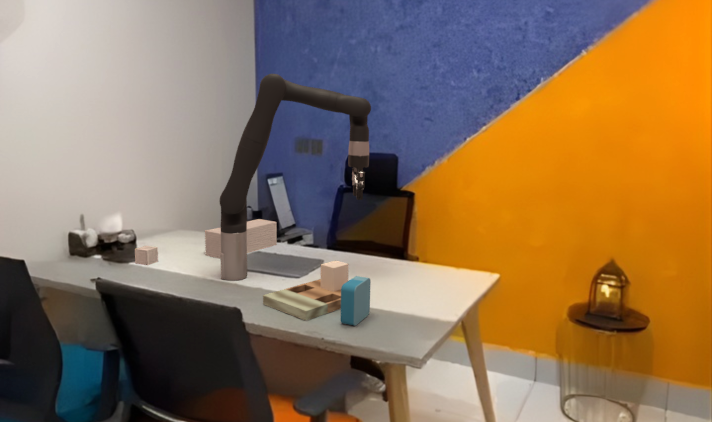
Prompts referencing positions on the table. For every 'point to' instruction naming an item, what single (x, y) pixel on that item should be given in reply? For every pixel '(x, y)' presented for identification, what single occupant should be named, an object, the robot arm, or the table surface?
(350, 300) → the data package
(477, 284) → the table surface
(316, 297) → the board
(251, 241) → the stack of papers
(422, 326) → the table surface
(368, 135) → the robot arm
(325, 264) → the block
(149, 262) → the pale pink cube
